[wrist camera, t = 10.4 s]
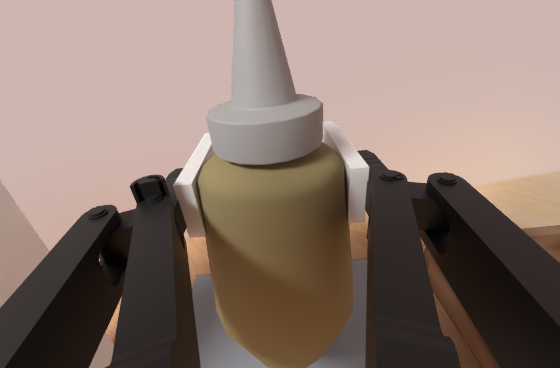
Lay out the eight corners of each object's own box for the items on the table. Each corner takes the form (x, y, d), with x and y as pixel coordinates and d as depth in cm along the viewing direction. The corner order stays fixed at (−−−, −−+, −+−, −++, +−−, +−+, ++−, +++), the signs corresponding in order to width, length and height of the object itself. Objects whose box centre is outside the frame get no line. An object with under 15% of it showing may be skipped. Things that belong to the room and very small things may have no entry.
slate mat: (377, 262, 27) (377, 257, 26) (498, 513, 13) (502, 509, 12) (198, 279, 27) (196, 275, 26) (123, 546, 13) (118, 544, 13)
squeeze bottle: (239, 276, 22) (180, 13, 13) (341, 275, 21) (353, -5, 12) (212, 394, 15) (39, -8, 6) (364, 398, 14) (431, -55, 5)
